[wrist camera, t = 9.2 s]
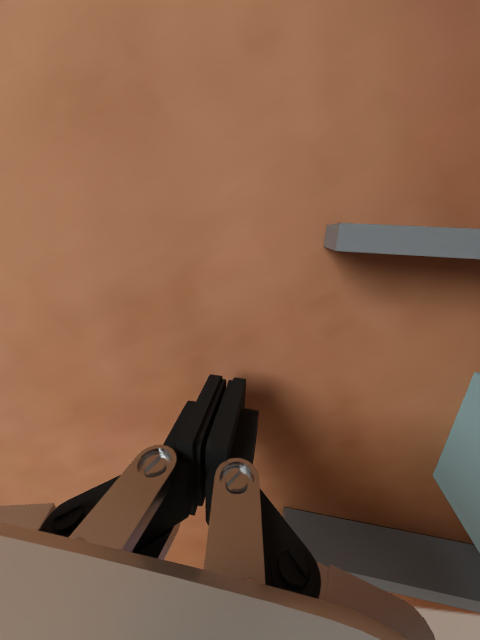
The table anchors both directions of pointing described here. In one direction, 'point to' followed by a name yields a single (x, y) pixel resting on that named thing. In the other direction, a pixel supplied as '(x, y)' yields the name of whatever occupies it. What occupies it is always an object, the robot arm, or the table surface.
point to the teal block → (464, 463)
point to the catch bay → (380, 542)
